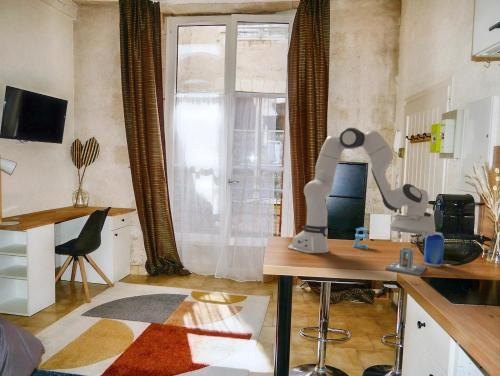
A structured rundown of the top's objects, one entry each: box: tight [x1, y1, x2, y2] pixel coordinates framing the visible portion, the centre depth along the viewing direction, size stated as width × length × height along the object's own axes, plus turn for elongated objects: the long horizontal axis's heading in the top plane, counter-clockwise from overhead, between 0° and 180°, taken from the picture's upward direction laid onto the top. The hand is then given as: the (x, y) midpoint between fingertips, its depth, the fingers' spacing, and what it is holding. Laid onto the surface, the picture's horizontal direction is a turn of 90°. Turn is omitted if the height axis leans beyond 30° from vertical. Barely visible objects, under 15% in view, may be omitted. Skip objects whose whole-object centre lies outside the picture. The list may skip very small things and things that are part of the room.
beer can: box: [423, 231, 445, 268], centre depth 193 cm, size 8×8×16 cm
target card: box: [385, 260, 427, 277], centre depth 183 cm, size 15×16×1 cm
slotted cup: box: [398, 247, 415, 269], centre depth 183 cm, size 5×5×8 cm
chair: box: [352, 226, 369, 250], centre depth 228 cm, size 8×8×12 cm
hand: (409, 239), depth 186 cm, fingers open, 8 cm apart
